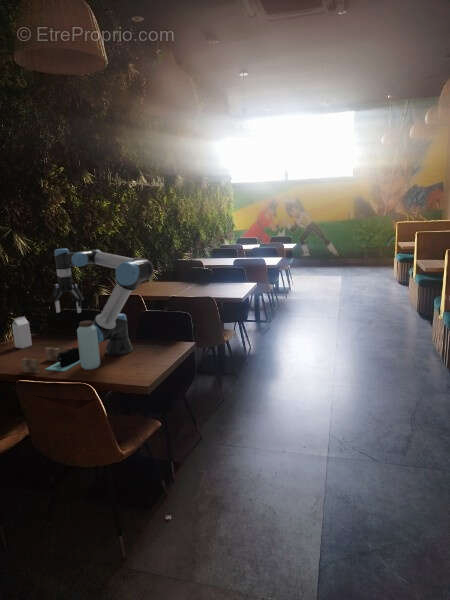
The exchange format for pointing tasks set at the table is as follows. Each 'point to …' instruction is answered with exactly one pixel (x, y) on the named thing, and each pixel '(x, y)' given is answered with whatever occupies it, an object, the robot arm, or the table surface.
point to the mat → (58, 368)
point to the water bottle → (88, 345)
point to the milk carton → (21, 332)
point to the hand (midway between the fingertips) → (68, 312)
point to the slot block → (32, 364)
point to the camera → (68, 357)
